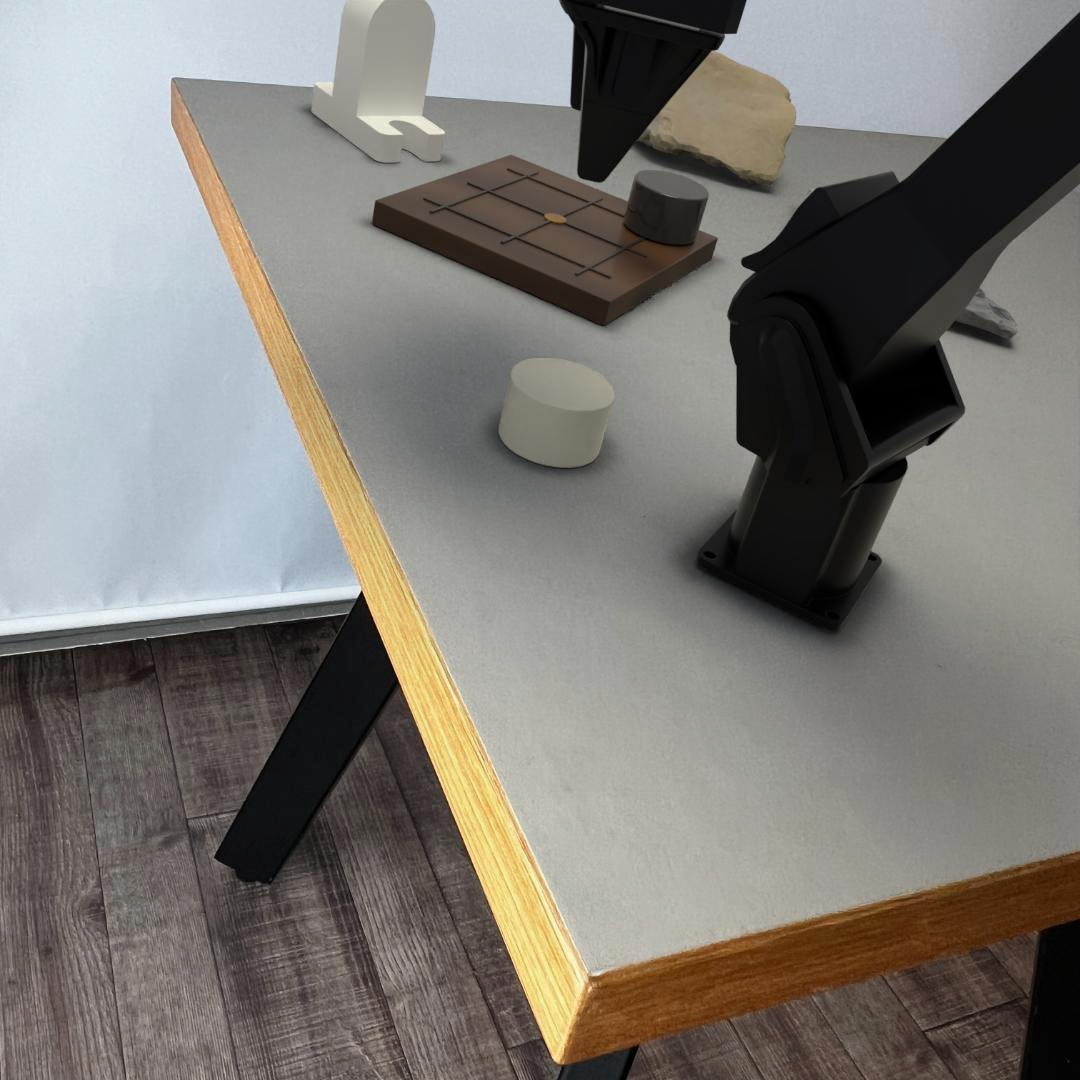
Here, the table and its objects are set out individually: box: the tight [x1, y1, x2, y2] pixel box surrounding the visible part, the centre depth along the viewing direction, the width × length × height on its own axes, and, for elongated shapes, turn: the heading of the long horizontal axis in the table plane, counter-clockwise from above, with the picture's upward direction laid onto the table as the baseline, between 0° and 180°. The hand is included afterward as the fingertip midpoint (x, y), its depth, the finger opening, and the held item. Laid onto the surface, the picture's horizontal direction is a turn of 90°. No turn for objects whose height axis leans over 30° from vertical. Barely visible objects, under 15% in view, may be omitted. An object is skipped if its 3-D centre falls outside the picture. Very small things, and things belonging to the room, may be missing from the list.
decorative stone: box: [636, 50, 797, 186], centre depth 97 cm, size 8×14×8 cm, turn 80°
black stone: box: [623, 169, 710, 245], centre depth 78 cm, size 5×5×3 cm
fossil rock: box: [804, 187, 1019, 339], centre depth 87 cm, size 18×15×2 cm
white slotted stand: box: [310, 0, 446, 164], centre depth 84 cm, size 5×10×10 cm, turn 37°
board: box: [371, 154, 719, 326], centre depth 77 cm, size 16×16×2 cm
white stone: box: [497, 357, 616, 469], centre depth 57 cm, size 5×5×3 cm
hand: (585, 142), depth 53 cm, fingers open, 9 cm apart
